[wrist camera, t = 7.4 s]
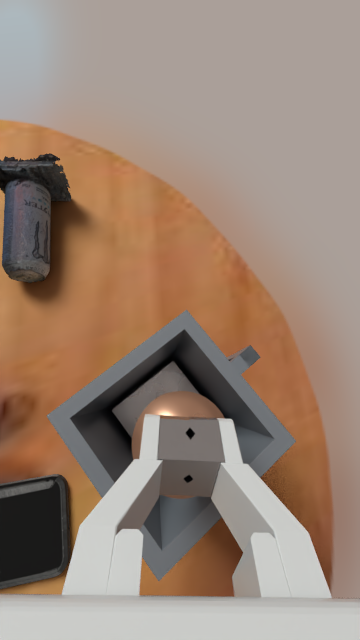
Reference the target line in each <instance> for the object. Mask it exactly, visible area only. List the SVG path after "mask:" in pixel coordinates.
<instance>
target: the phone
mask: <svg viewBox="0 0 360 640" xmlns="http://www.w3.org/2000/svg"><path fill="white" fill-rule="evenodd" d="M69 546H70V528H69V504H68V485H67V481H66V479H65V478H64V477H63V476H62V475H59V474H53V475H48V476H42V477H37V478H31V479H26V480H20V481H15V482H9V483H4V484H0V589H3V588H7V587H12V586H16V585H21V584H25V583H30V582H34V581H38V580H43V579H47V578H52V577H55V576H58V575H60V574H61V573H62V572H63V571H64V569H65V568H66V566H67V564H68V562H69V559H70V554H71V551H70V547H69Z"/></svg>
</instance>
